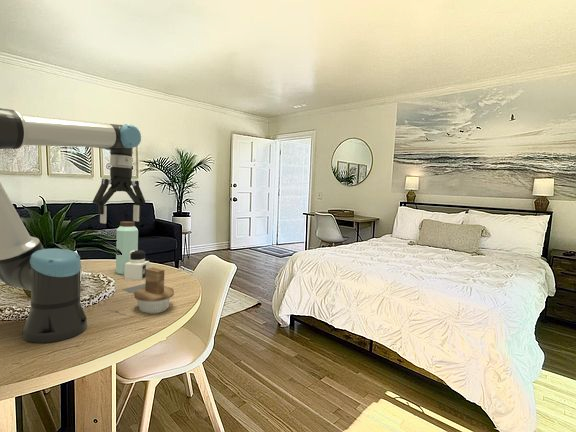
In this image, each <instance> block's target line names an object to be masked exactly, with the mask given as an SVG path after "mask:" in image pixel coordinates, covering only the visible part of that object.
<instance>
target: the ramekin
mask: <svg viewBox="0 0 576 432" xmlns="http://www.w3.org/2000/svg"><path fill="white" fill-rule="evenodd" d="M171 298H172V297H170V298H168V299H164V300H159V301H141V300H137V299H136V300H137V305H138V310H139V311H140V312H143V313H147V314H150V315H151V314H159V313H162V312H165V311H166V310H167V309H168V308H169V304H170V300H171Z"/></svg>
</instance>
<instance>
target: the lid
mask: <svg viewBox="0 0 576 432" xmlns="http://www.w3.org/2000/svg"><path fill="white" fill-rule="evenodd" d="M144 284H145V288H141V289H139V290H137V291H135V293H134V294H133V295H134V296H133V297H134V299H135V300H141V301H159V300H164V299H168V298H170V297H171V298H172V297H174V295H175V290H174V288H173V287H170V286H169V287H168V286H166V287H164V286H165V269H161V268H157V267H149V268H148V269H146V278H145V281H144ZM172 288H173V289H172ZM171 298H170V299H171Z"/></svg>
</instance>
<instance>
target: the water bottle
mask: <svg viewBox="0 0 576 432" xmlns="http://www.w3.org/2000/svg"><path fill="white" fill-rule="evenodd" d="M135 222H136V221H120V225H119V227H117V228H116V235H115V238H116V240H117V241H115V242H116V243H115V244H116V245H115V249H116V248H117V249H119V250H120V251H121V253H122V255H117V254H116V253H115V273H116V274H117V275H122V276H125V263H127V262H130V261H129V259H130V252H131V251H134V250H139V230H138V228H137V227H136V223H135Z"/></svg>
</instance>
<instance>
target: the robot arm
mask: <svg viewBox="0 0 576 432" xmlns="http://www.w3.org/2000/svg"><path fill="white" fill-rule="evenodd" d="M141 141H142V133H141V131H140V129H139V128H138V127H137V126H135V125H134V124H133V125H132V124H117V123H116V124H115V123H105V122H104V123H103V122H96V121H95V122H94V121H86V120H76V119H65V118H56V117H45V116H35V115H25V114H20V113H19V112H18V111H17V110H15V109H10V108H9V109H8V108H2V107H1V108H0V150H5V149H6V150H11V149H12V150H18V149H21V148H22V147H23V146H40V147H41V146H43V147H44V146H45V147H49V146H50V147H52V146H53V147H78V148H79V147H82V148H83V147H84V148H85V147H86V148H96V149H104V150H109V151H110V154H109V156H110V158H109V159H110V160H109V162H110V163H109V165H110V168H109V171H110V172H109V176H110V179H108V178H102V179H101V184H100V185H99V188H98V190H97V192H96V194H95V196H94V197H93V200H92V203H93V204H95V205H96V206H97V208H98V209H97V214H99V223H100V224H107V215H108V214H107V205H106V204H107V203H108V201H109V200H110V199H111V198H112V196H113V195H114V194H115V193H116V192H125V193H126V194H127V196H129V198H130V199H131V200H132V201H133V203H134V204H133V207H132V209H133V210H132V211H133V212H132V222H140V213H141V210H142V209H141V207H142V206H143V205H144V204H146V199H145V197H144V195H143V192H142V189H141V188H140V182H139V180H132V178H133V169H132V167H133V149H134V148H136V147H138V146H139V145H140V144H141ZM109 185H111V186H109ZM131 186H132V187H131ZM107 189H108V190H107ZM8 195H9V194H8V193H7V192H6V190H5V188H4V186H3V184H2V182H0V281H1V282H2V283H3V284H5V285H7V286H10V287H13V288H17V289H22V290H25V291H28V292H30V310H29V314H28V315H27V318H26V321H25V324H24V326H23V329H22V338H23V340H25V341H26V342H29V343H38V344H39V343H41V344H42V343H54V342H58V341H59V342H60V341H63V340H64V341H65V340H67V339H71V338H72V337H75V336H79V335H80V334H81V333H83V332H85V330H87V327H88V318H87V316H86V313H85V310H84V308H83V306H82V303H81V277H82V276H81V275H82V273H81V269H82V263H81V257H80V254H79V253H77V252H76V251H74V250H71V249H66V248H62V249H61V248H55V247H54V248H44V246H43V244H42V242H41V241H40V239H39V238H38V237H35V236H31V235H30V233H29V232H28V230H27V228H26V226H25V225H24V222H23V221H22V219H21V217H20V215H19V213H18V211H17V210H16V208H15V206H14V205H13V203H12V200H11V199H10V197H9V196H8Z"/></svg>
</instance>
